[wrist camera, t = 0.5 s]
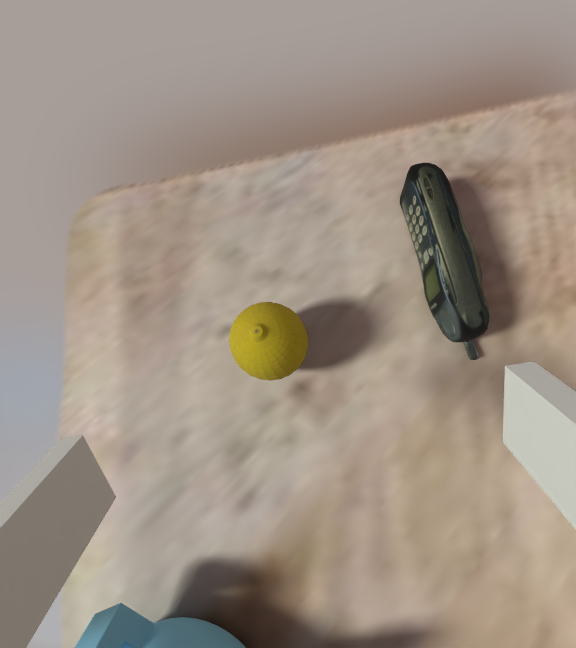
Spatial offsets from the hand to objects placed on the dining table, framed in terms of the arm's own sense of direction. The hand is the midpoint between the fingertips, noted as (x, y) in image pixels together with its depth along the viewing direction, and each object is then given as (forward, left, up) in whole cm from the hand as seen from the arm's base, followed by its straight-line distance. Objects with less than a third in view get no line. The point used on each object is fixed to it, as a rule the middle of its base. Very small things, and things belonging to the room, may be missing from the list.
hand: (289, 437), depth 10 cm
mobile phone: (+9, -12, -17) cm, 23 cm away
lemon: (+6, +2, -17) cm, 18 cm away
